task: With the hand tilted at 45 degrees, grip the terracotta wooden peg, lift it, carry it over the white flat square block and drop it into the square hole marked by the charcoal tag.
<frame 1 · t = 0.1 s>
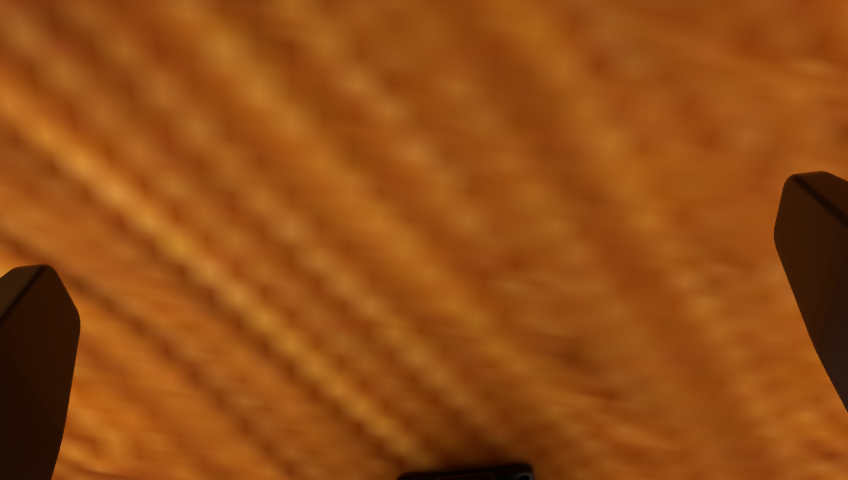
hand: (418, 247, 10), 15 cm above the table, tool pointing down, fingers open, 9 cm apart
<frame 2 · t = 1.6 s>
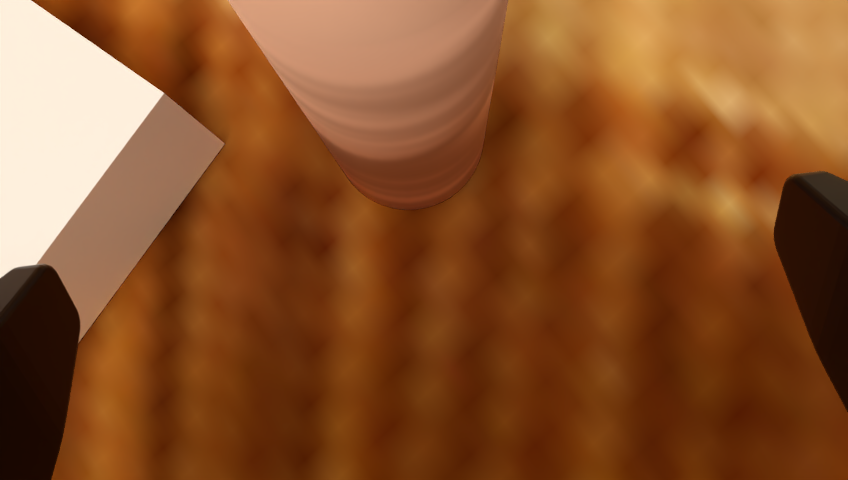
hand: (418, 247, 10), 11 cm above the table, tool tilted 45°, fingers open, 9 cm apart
terracotta peg: (409, 136, 21), on the table
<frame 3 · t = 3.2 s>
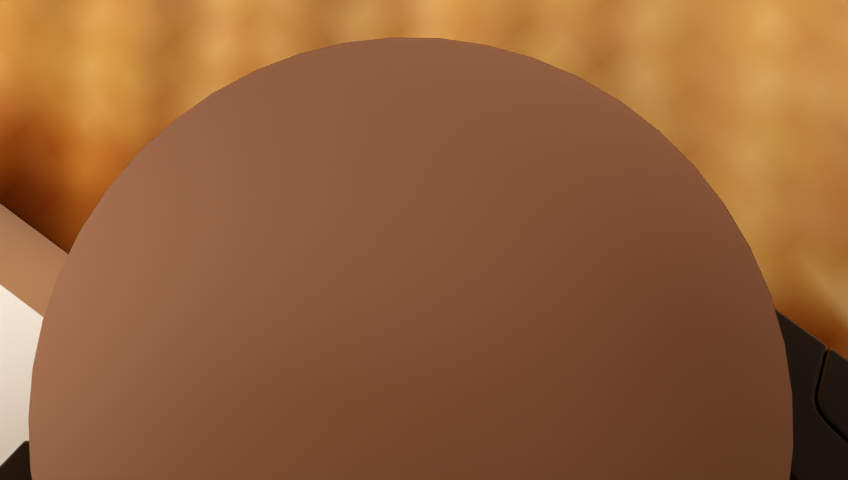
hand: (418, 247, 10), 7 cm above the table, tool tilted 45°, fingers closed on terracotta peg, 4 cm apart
terracotta peg: (440, 346, 16), on the table, touching gripper
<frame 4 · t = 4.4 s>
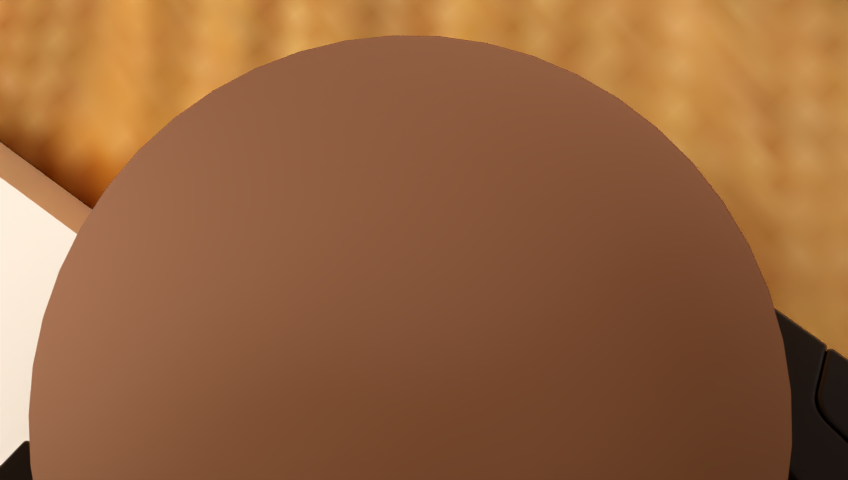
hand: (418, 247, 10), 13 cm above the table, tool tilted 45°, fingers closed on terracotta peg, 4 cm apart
terracotta peg: (440, 345, 16), point 7 cm above the table, touching gripper
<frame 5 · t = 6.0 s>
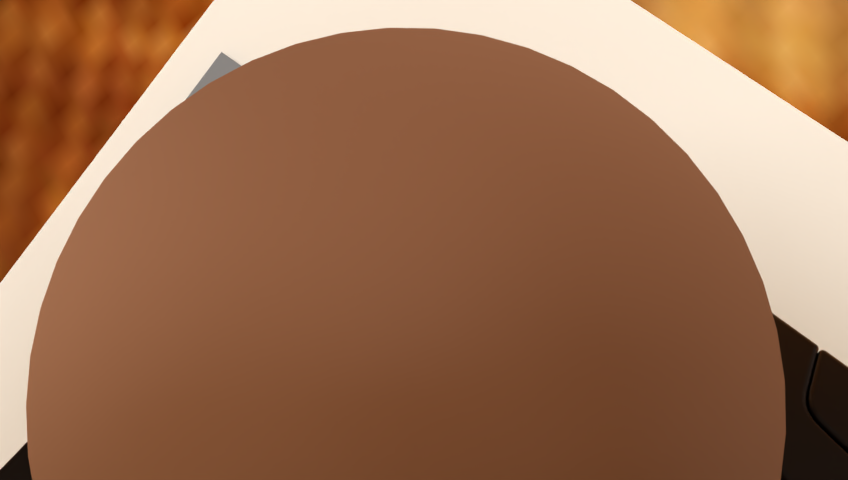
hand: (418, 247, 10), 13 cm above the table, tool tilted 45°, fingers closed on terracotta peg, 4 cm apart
terracotta peg: (439, 343, 16), point 6 cm above the table, touching gripper
white flat square block: (441, 337, 22), on the table
when the fingers open (13 cm above the table, at t = 6.2 s): terracotta peg drops 6 cm, resting in white flat square block.
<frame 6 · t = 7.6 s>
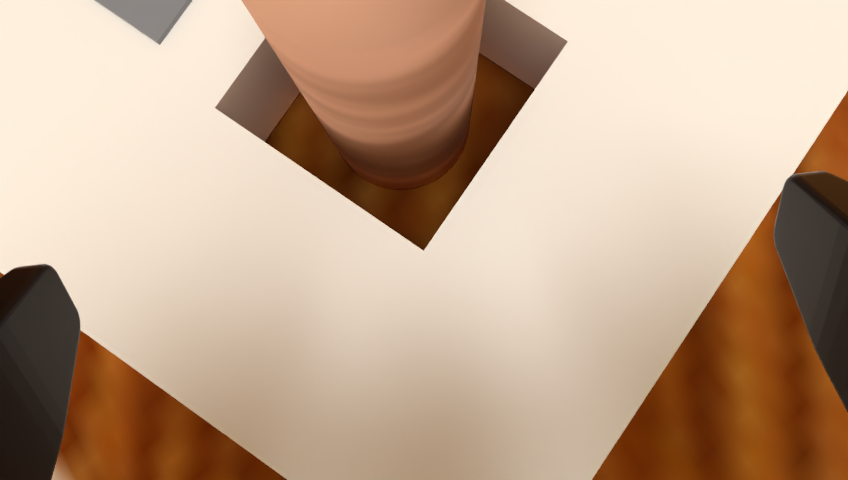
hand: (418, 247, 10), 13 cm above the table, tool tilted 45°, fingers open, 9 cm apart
terracotta peg: (401, 122, 23), resting in white flat square block
white flat square block: (401, 121, 23), on the table
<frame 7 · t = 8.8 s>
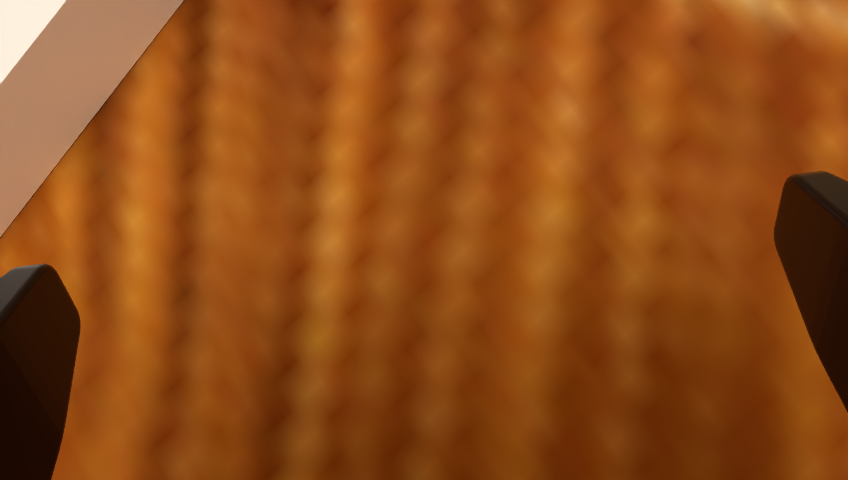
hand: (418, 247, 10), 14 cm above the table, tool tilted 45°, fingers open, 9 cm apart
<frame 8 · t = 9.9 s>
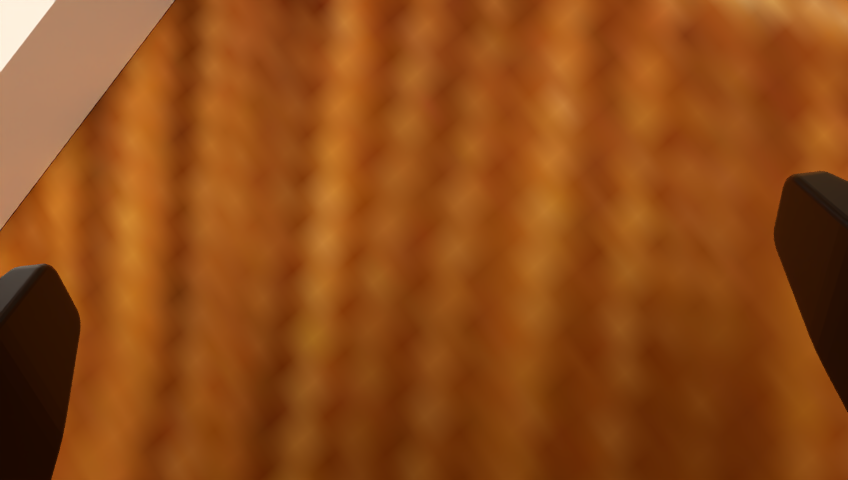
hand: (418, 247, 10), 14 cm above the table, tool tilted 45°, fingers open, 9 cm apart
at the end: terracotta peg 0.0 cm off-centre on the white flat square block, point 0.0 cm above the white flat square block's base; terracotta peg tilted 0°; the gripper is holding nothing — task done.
